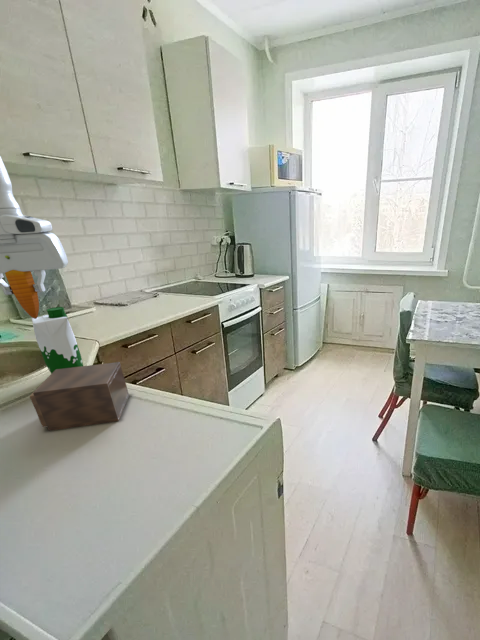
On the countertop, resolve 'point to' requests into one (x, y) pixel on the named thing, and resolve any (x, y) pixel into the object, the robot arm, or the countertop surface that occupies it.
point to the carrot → (24, 290)
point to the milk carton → (57, 340)
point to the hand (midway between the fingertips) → (26, 293)
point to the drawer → (38, 410)
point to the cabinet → (82, 396)
